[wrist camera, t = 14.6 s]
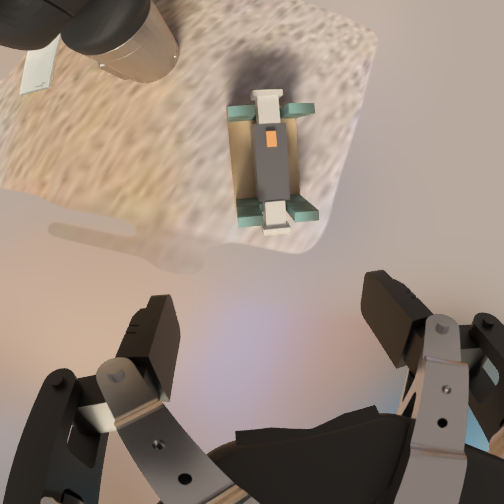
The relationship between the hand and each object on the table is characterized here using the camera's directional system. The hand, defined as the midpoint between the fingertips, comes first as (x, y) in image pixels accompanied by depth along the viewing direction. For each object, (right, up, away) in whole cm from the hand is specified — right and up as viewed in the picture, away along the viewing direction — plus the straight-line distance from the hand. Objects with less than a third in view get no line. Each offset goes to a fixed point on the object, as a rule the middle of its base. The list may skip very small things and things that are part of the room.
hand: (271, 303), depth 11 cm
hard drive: (-39, +37, +18) cm, 56 cm away
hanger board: (+1, +16, +29) cm, 33 cm away
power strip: (+1, +15, +27) cm, 31 cm away
